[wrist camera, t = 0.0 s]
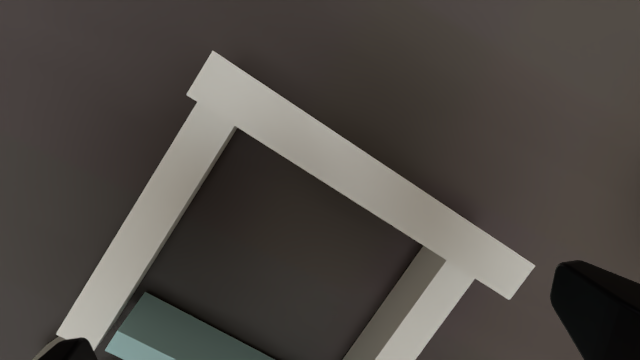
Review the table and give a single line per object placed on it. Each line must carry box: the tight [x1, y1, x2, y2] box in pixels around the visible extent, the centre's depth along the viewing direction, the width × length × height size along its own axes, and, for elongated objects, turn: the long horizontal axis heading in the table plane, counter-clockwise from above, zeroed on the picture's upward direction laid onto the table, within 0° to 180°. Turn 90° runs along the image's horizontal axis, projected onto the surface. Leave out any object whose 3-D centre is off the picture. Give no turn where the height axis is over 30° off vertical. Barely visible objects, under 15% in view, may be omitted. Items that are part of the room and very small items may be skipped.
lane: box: [33, 51, 535, 360], centre depth 21 cm, size 20×18×6 cm
